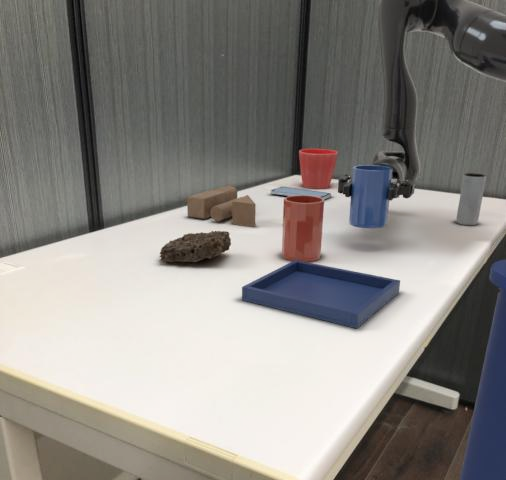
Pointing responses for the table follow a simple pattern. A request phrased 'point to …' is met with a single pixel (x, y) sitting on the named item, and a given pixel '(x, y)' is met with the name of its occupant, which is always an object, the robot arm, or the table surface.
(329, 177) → the flower pot
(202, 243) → the dark brown rock
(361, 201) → the blue cup
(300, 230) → the red cup
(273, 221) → the table surface
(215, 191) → the wooden block set
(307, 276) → the blue tray
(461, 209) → the grey hollow tube
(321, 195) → the smartphone
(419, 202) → the table surface
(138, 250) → the table surface
